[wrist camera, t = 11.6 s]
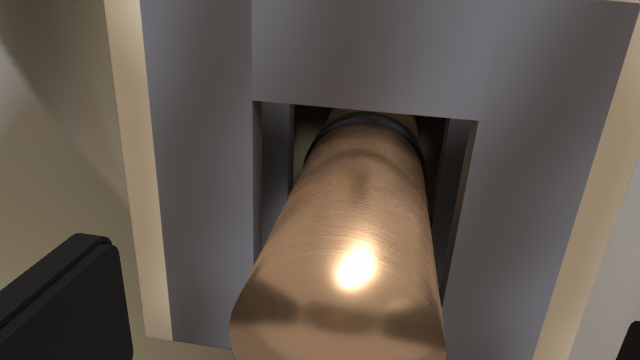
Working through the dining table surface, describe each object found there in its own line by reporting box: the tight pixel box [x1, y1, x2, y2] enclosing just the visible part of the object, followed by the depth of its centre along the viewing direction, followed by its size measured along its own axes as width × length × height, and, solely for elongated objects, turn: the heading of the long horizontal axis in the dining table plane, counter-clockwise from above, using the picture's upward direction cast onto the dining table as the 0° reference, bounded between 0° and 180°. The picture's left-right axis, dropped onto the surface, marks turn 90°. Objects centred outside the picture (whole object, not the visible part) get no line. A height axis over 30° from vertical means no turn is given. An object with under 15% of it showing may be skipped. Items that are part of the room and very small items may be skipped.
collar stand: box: [104, 0, 640, 360], centre depth 17 cm, size 14×12×8 cm
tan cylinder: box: [229, 108, 446, 360], centre depth 15 cm, size 4×4×14 cm
